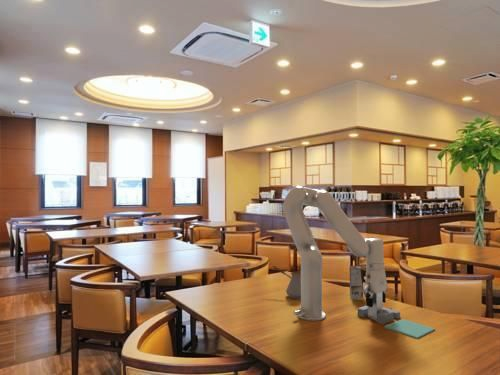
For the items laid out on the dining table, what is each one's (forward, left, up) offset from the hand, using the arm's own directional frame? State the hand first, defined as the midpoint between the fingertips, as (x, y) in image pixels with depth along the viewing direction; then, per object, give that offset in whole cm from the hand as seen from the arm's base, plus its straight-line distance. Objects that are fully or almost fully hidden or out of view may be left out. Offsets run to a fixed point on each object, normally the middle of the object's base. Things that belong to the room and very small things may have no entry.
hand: (375, 304), depth 159 cm
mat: (0, -16, -6) cm, 17 cm away
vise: (+4, 0, -6) cm, 7 cm away
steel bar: (0, 0, -6) cm, 6 cm away
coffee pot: (-7, +49, -6) cm, 50 cm away
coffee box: (+19, +24, -6) cm, 31 cm away
